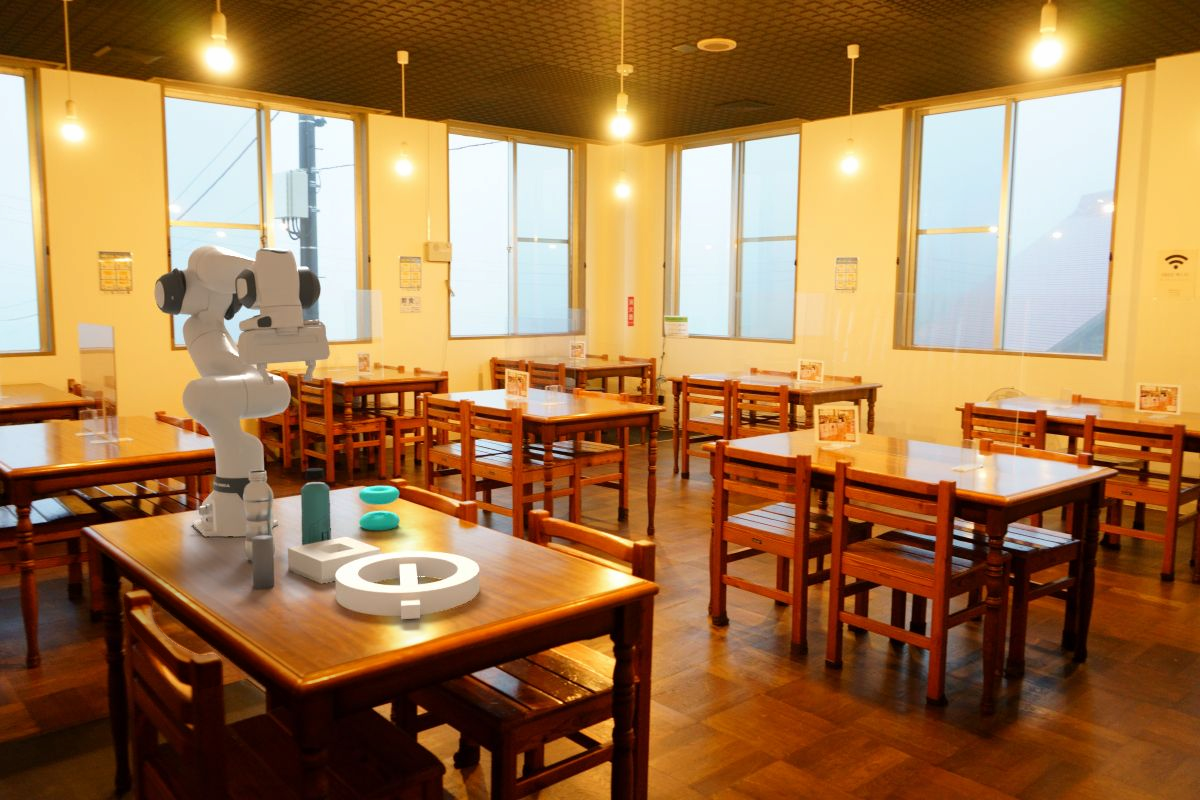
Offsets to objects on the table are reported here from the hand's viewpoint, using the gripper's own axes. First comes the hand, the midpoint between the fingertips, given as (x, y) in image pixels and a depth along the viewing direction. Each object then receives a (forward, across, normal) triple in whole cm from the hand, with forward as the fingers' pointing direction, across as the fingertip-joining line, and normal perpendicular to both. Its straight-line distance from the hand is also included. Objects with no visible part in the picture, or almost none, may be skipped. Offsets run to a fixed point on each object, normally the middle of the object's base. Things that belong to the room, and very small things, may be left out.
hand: (288, 383), depth 202 cm
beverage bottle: (+40, -3, -1) cm, 40 cm away
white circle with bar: (+44, -2, +34) cm, 56 cm away
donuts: (+39, -28, -14) cm, 50 cm away
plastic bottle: (+39, +8, -6) cm, 40 cm away
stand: (+41, 0, +12) cm, 42 cm away
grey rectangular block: (+40, +16, +11) cm, 45 cm away
